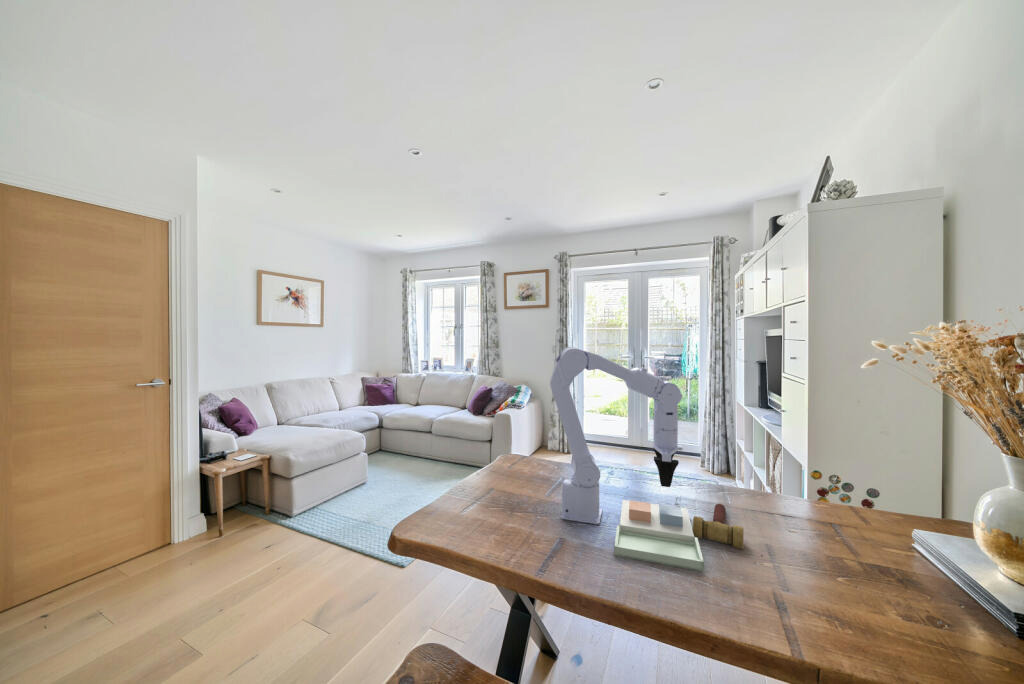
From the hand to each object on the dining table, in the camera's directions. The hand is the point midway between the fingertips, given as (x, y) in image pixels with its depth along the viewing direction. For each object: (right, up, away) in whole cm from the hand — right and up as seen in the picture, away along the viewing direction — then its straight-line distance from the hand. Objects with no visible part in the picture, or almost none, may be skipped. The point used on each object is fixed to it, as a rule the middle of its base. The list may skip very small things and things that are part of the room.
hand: (664, 480), depth 96 cm
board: (-4, -10, -3) cm, 11 cm away
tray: (-8, -10, -15) cm, 19 cm away
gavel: (+12, -10, -3) cm, 16 cm away
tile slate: (-1, -8, -5) cm, 9 cm away
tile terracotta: (-8, -8, -3) cm, 11 cm away
